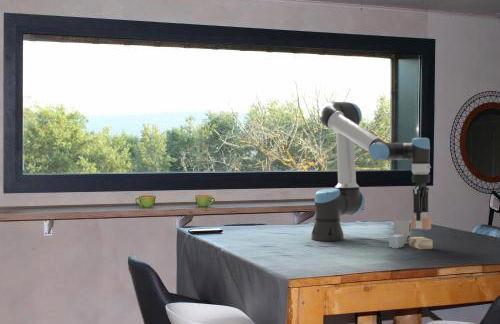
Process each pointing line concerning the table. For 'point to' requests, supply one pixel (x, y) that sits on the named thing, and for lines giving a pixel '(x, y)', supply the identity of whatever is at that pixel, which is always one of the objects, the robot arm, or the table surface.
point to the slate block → (396, 241)
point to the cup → (402, 229)
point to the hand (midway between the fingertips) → (421, 227)
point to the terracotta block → (425, 223)
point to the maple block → (420, 242)
